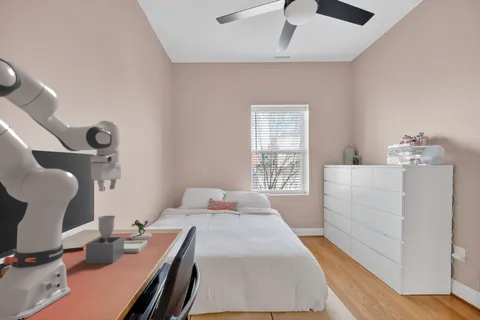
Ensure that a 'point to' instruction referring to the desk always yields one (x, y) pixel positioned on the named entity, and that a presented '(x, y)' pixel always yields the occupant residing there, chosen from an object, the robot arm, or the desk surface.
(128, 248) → the tray
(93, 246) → the box
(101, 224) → the chalice
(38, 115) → the robot arm
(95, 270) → the desk surface
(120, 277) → the desk surface
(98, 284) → the desk surface
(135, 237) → the monster figurine
